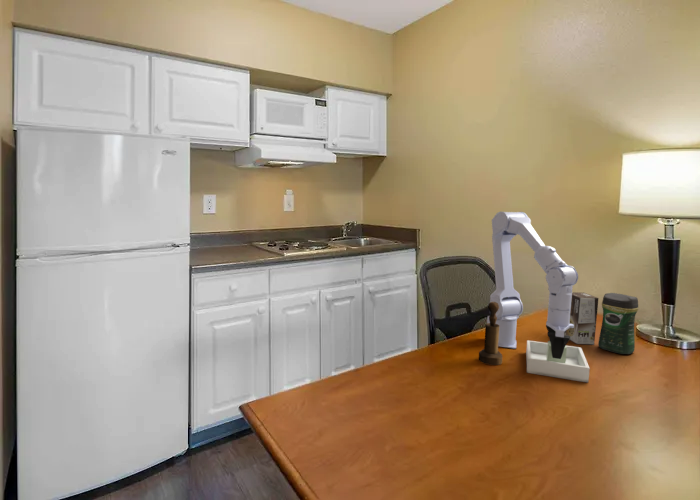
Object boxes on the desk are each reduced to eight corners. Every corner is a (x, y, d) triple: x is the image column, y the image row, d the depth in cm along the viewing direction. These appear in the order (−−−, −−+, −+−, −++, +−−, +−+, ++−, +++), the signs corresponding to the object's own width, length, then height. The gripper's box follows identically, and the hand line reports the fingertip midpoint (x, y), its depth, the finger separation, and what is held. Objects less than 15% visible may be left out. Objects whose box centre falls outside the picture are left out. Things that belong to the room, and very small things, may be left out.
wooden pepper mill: (498, 357, 126) (502, 299, 124) (504, 366, 119) (508, 305, 117) (476, 356, 126) (480, 299, 124) (481, 364, 120) (484, 304, 118)
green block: (547, 365, 119) (549, 345, 118) (546, 360, 123) (547, 340, 122) (564, 368, 117) (566, 348, 116) (563, 362, 121) (564, 343, 120)
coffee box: (595, 344, 139) (599, 298, 137) (576, 344, 139) (580, 297, 137) (580, 336, 148) (584, 292, 146) (562, 335, 148) (566, 291, 147)
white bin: (526, 372, 115) (527, 358, 114) (526, 352, 131) (527, 340, 130) (588, 382, 109) (589, 368, 109) (580, 360, 125) (581, 347, 124)
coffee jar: (638, 352, 132) (644, 296, 130) (625, 357, 128) (631, 298, 126) (606, 343, 141) (611, 290, 139) (593, 347, 137) (598, 292, 134)
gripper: (578, 316, 110) (574, 365, 111) (572, 304, 123) (568, 348, 125) (549, 312, 112) (545, 360, 114) (546, 301, 126) (542, 344, 127)
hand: (555, 353), depth 119 cm, fingers open, 6 cm apart
